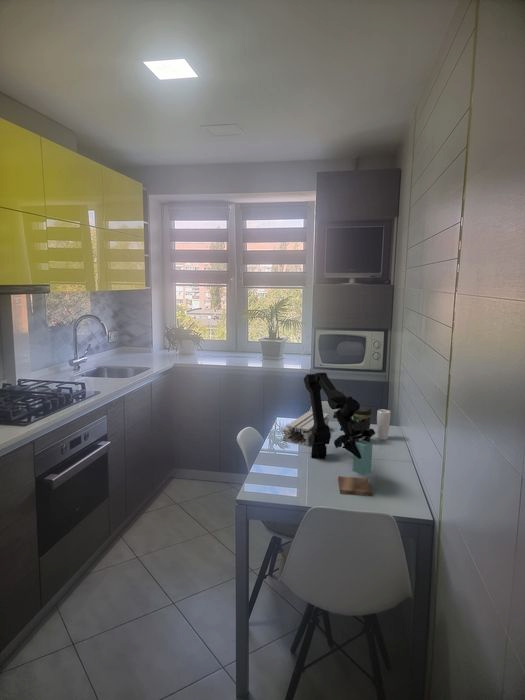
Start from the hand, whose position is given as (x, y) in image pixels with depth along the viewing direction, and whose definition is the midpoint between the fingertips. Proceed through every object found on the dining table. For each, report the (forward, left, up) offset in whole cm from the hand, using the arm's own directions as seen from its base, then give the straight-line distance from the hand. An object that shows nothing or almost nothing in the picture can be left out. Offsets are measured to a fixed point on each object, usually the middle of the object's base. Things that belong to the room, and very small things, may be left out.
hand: (365, 457), depth 169 cm
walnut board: (-4, -1, -13) cm, 13 cm away
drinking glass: (+16, +59, -13) cm, 62 cm away
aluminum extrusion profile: (-24, +57, -13) cm, 64 cm away
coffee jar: (+4, +53, -13) cm, 55 cm away
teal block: (-1, +1, -7) cm, 7 cm away
